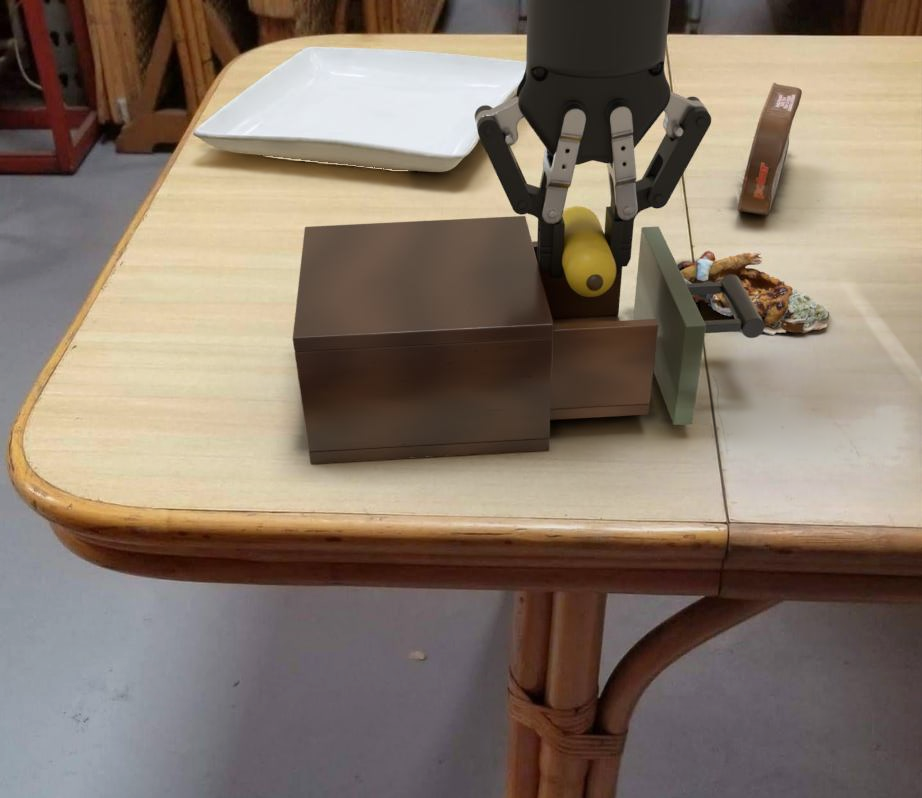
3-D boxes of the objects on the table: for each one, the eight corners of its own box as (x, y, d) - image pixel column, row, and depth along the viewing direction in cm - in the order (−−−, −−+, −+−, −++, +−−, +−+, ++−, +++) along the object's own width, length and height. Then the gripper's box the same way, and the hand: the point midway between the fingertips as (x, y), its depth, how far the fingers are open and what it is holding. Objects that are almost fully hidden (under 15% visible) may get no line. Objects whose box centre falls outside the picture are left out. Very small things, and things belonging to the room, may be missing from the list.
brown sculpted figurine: (823, 344, 75) (834, 297, 73) (654, 320, 78) (659, 274, 76) (831, 298, 80) (841, 253, 78) (671, 277, 83) (677, 233, 81)
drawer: (717, 313, 77) (730, 222, 72) (770, 420, 67) (790, 321, 62) (460, 327, 76) (458, 235, 72) (474, 436, 66) (472, 338, 61)
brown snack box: (756, 162, 100) (771, 68, 95) (790, 166, 99) (808, 71, 94) (731, 228, 90) (747, 126, 84) (770, 233, 89) (788, 130, 83)
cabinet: (523, 331, 77) (525, 215, 72) (549, 450, 66) (553, 324, 61) (319, 342, 77) (304, 226, 71) (310, 464, 66) (292, 338, 60)
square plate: (309, 77, 122) (304, 41, 120) (540, 96, 116) (541, 58, 113) (194, 165, 103) (186, 124, 100) (464, 194, 96) (464, 151, 94)
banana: (595, 241, 70) (598, 197, 68) (620, 307, 63) (623, 260, 61) (549, 244, 70) (551, 199, 68) (569, 310, 63) (571, 263, 61)
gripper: (470, -13, 52) (475, 307, 64) (754, -25, 53) (708, 295, 64) (460, -49, 58) (466, 251, 69) (716, -59, 58) (681, 240, 70)
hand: (583, 270), depth 67 cm, fingers closed on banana, 3 cm apart
